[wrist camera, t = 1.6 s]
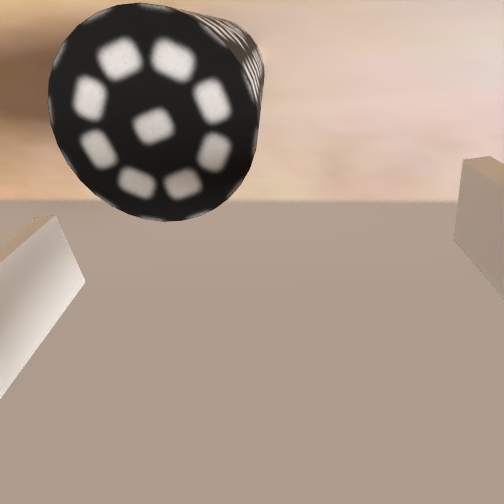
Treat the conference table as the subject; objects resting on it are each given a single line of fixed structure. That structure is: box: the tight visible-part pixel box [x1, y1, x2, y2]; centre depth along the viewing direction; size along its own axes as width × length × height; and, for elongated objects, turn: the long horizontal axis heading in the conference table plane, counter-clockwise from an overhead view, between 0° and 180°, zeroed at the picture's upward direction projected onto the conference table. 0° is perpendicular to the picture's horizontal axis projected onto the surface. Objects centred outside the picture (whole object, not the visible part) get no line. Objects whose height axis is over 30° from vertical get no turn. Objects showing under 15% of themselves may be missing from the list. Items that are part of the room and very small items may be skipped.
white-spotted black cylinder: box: [48, 3, 264, 222], centre depth 24 cm, size 8×8×20 cm
